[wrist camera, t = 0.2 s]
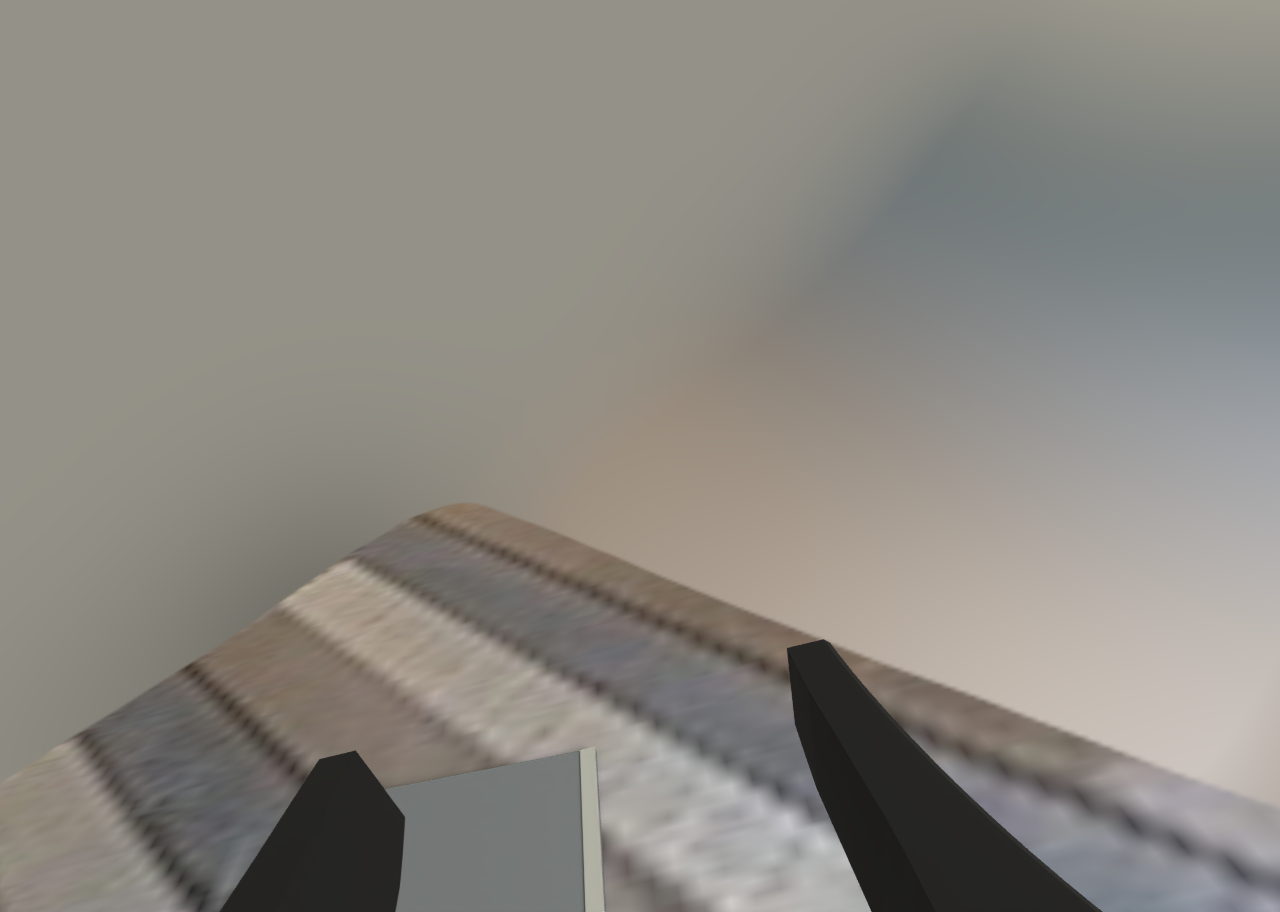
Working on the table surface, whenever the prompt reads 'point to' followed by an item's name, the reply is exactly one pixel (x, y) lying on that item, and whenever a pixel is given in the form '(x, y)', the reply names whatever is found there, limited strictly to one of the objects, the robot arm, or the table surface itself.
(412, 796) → the mat
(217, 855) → the table surface
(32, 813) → the table surface
